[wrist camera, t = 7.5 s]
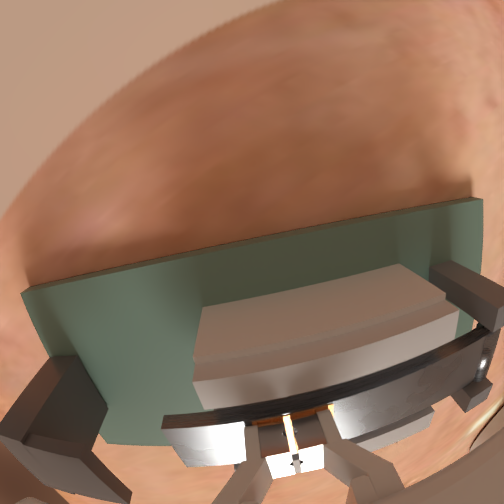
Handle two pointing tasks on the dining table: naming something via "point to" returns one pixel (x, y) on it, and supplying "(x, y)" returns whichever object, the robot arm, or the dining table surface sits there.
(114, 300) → the base
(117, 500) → the dark grey angled block
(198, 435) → the dark grey flat bar
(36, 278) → the dining table surface
